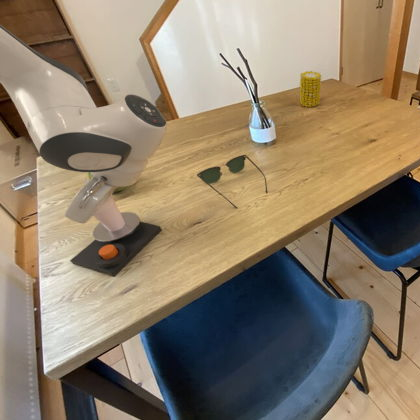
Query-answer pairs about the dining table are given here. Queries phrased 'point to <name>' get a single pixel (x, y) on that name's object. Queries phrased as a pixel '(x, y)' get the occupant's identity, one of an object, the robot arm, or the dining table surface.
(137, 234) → the scale
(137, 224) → the scale pan
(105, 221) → the smoothie
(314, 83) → the food
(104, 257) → the tare button
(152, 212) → the dining table surface
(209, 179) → the sunglasses
